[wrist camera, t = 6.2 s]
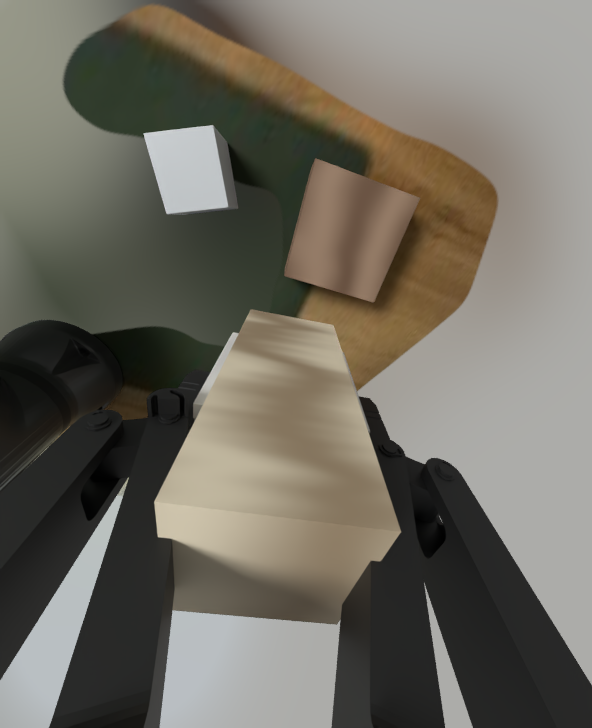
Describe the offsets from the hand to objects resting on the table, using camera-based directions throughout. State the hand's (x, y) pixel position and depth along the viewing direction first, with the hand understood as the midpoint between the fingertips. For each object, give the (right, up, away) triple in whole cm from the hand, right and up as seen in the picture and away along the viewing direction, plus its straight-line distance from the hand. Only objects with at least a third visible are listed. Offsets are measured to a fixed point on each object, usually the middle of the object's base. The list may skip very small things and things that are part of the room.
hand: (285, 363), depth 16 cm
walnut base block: (+6, +16, +17) cm, 23 cm away
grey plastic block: (-9, +20, +13) cm, 26 cm away
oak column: (0, +1, +1) cm, 1 cm away
